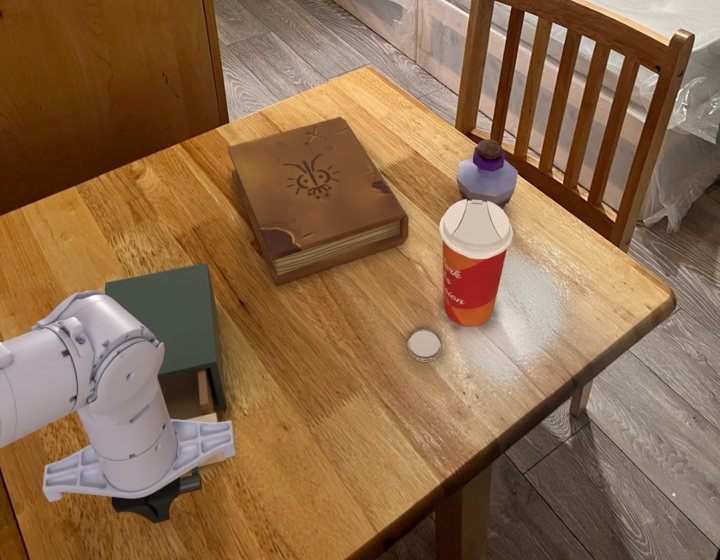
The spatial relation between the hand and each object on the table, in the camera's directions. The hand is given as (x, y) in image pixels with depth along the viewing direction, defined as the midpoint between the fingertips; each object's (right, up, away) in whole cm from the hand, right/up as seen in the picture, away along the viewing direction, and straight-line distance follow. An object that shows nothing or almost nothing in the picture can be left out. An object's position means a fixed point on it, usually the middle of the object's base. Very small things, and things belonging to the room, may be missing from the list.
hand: (161, 509), depth 63 cm
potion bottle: (+35, +18, +41) cm, 57 cm away
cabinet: (-5, +4, +22) cm, 22 cm away
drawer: (-3, 0, +14) cm, 14 cm away
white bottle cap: (+25, +6, +23) cm, 34 cm away
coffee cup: (+30, +9, +28) cm, 42 cm away
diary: (+11, +19, +42) cm, 47 cm away
